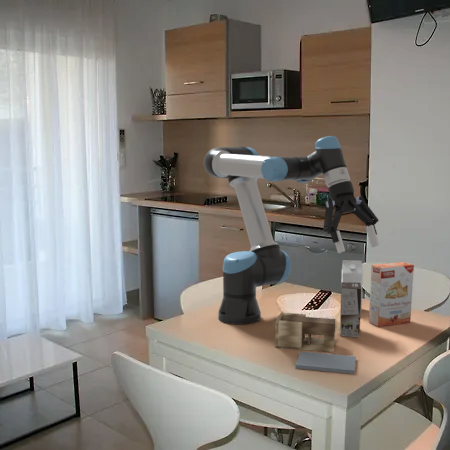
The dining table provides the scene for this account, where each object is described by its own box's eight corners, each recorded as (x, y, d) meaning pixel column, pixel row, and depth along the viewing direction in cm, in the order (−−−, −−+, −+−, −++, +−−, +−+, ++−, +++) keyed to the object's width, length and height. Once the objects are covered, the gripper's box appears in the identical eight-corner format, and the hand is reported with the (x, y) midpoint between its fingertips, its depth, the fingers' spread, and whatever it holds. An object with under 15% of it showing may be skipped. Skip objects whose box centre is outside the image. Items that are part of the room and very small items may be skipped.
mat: (295, 368, 165) (295, 364, 165) (300, 354, 175) (300, 351, 175) (354, 374, 161) (354, 370, 161) (355, 359, 171) (355, 356, 171)
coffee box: (360, 337, 191) (361, 288, 188) (339, 336, 192) (341, 287, 189) (359, 328, 199) (361, 282, 197) (340, 327, 201) (341, 281, 198)
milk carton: (340, 307, 225) (342, 258, 222) (359, 308, 224) (361, 259, 221) (341, 312, 218) (343, 262, 215) (361, 313, 217) (363, 262, 214)
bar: (287, 332, 183) (288, 320, 182) (290, 327, 188) (290, 315, 187) (333, 336, 179) (334, 323, 179) (334, 331, 184) (335, 319, 183)
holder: (274, 347, 182) (275, 322, 180) (280, 336, 192) (280, 312, 191) (332, 352, 177) (333, 326, 176) (335, 340, 187) (335, 316, 186)
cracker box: (379, 328, 200) (381, 267, 197) (368, 323, 206) (370, 264, 203) (411, 323, 206) (414, 264, 203) (400, 318, 211) (402, 260, 208)
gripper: (314, 183, 176) (334, 251, 172) (376, 176, 188) (396, 240, 183) (300, 192, 182) (319, 258, 178) (361, 184, 194) (381, 246, 190)
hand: (358, 249), depth 181 cm, fingers open, 13 cm apart
